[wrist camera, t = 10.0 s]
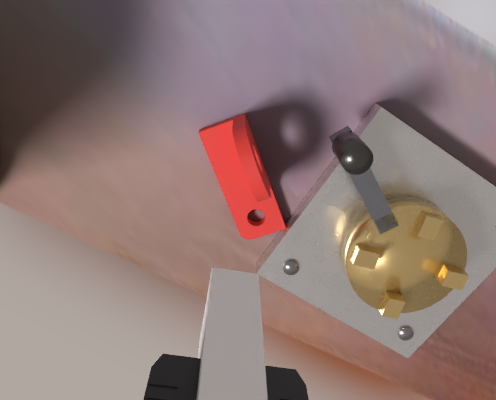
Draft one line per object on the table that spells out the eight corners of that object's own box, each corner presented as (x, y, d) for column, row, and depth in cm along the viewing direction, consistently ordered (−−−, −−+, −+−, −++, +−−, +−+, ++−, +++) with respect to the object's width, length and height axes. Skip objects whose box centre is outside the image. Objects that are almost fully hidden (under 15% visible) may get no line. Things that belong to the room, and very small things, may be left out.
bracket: (199, 129, 44) (190, 153, 36) (244, 113, 43) (244, 133, 36) (243, 237, 48) (243, 277, 41) (285, 223, 47) (292, 262, 40)
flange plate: (255, 263, 49) (256, 274, 47) (375, 102, 43) (382, 107, 41) (402, 346, 53) (408, 360, 51) (530, 211, 47) (544, 220, 45)
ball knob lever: (469, 265, 47) (506, 307, 40) (369, 312, 49) (388, 358, 42) (391, 93, 40) (419, 109, 34) (279, 155, 42) (285, 181, 36)
